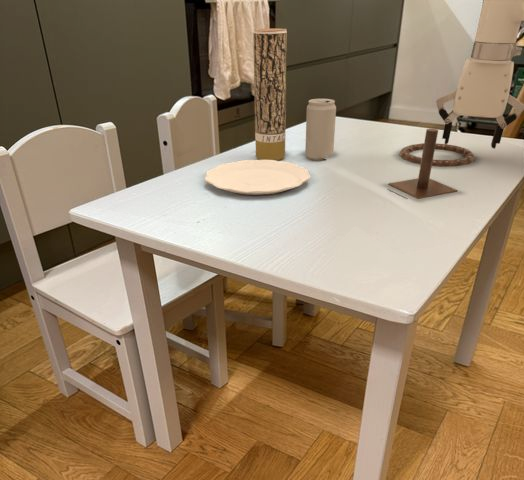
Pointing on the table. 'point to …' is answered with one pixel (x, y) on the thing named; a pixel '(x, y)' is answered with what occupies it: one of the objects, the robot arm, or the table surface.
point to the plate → (257, 176)
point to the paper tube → (270, 92)
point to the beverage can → (320, 129)
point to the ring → (440, 163)
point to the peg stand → (424, 174)
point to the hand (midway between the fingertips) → (469, 144)
